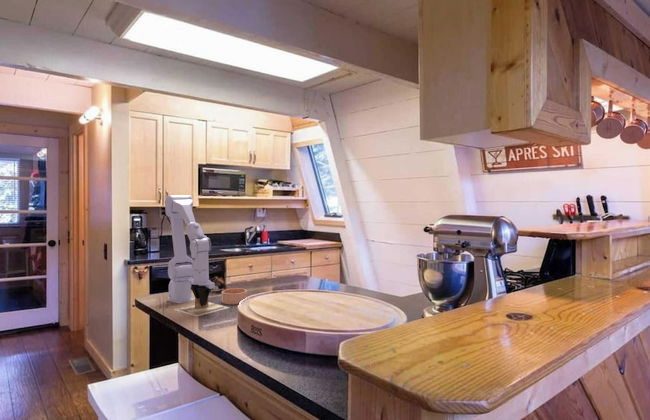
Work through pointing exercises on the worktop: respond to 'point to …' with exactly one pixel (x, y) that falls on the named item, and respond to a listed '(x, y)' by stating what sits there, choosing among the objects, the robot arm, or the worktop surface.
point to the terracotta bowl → (233, 295)
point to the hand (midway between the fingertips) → (201, 304)
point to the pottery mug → (219, 283)
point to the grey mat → (200, 314)
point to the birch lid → (201, 307)
